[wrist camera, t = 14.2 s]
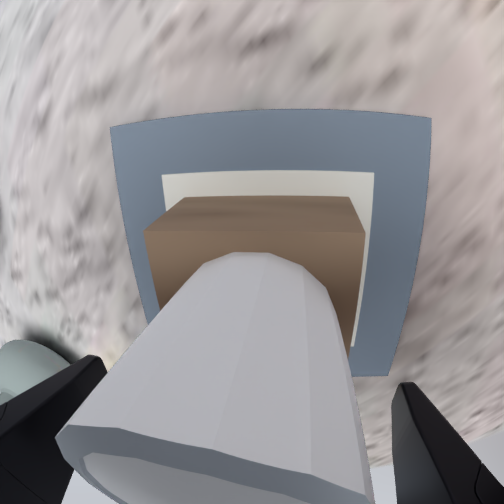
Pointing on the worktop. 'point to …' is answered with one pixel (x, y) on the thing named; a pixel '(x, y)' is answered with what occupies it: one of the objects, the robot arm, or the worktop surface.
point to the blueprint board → (292, 192)
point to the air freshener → (26, 367)
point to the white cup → (229, 398)
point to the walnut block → (262, 242)
